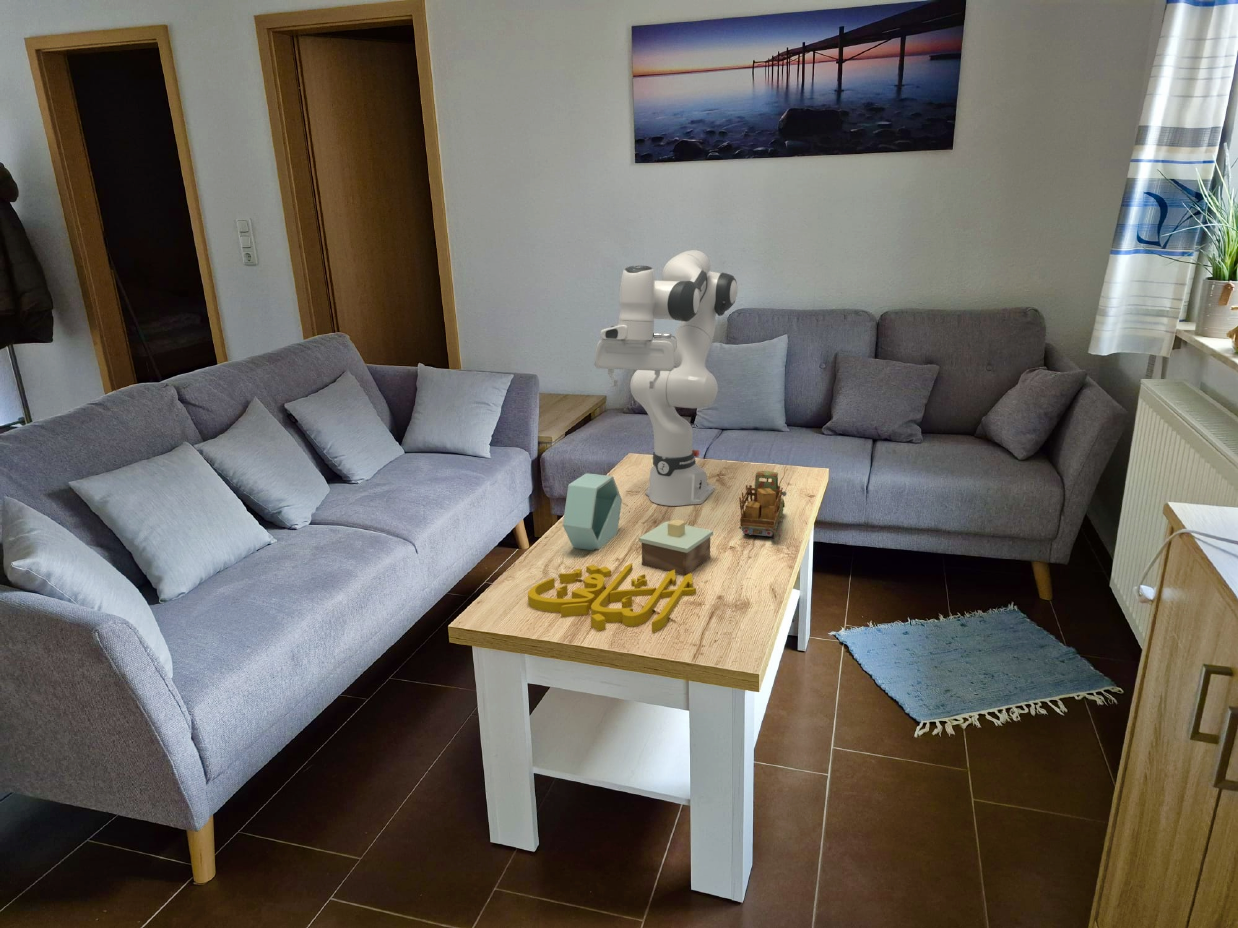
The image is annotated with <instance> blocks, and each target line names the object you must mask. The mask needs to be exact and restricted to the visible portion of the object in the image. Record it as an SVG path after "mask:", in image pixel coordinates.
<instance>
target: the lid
mask: <svg viewBox="0 0 1238 928" xmlns="http://www.w3.org/2000/svg"><path fill="white" fill-rule="evenodd" d="M712 536H714V530H710V529H706V528H702V527H696V526H693V525H692V526H690V525H688V524H686V521H683V520H678V519H673V520H670V521H664V522H663V523H661V524H659V525H658V526H656V527H655V528H652V529H651V530H650V531H648V532H646V533H644V534H642V535H641V536H639V537H638V543H641V544H642V543H646V544H650V545H655V546H659V547H663V548H668V549H672V550H677V551H681V552H685V553H687V552H689V551H690V550H692V549H693V548H695V547H696V546H698V545H699V544H701V543H702V542H703V541H705V540H706V539H708V538H709V537H710V538H711V537H712Z"/></svg>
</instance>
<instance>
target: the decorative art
mask: <svg viewBox="0 0 1238 928" xmlns="http://www.w3.org/2000/svg"><path fill="white" fill-rule="evenodd" d="M585 569H586V573H588V574H589V575H588V576H586V577H585V578H584V579H583V585H584V587H583V588H581V587H578V588H575V589H573V590H572V591H571V598H564V597H566V596H567V595H568V594H569V592H568V590H569V589H568V584H574V583H580V582H582V579H581V578H582V576H583V569H581V568H576V569H574V571H572V572H561V573H559V583H560V584H562V585H561V586H559V587H558V588H557V589H556V598H555V597H554V598H553V597H545V596H541V595H542V594H544V593H547V592H549V591H551V590H553V589H555V588H556V587H555V586H556V585H555V584H556V583H555V582H556V581H555V577H551V578H547V579H545V580H544V581H541V582H538V583H537V584H535V585H534V586H532V587H531V588H530V589H529V590H528V591H527V600H528V602H527V603H528V606H529V607H530V608H531V609H534V610H538V611H541V612H546V611H547V613H557V614H558V613H559V614H560V617H561V618H566V617H574V616H575V617H576V616H587V615H590V612H591V615H590V626H591V627H592V628H593V629H594V630H596V632H601V631H604V630H606V629H607V627H606V626H607V625H606V623H611V624H612V623H621V624H622V625H623V626H626V627H638V626H640V624H641V625H642V624H644V623H646V622H648V621H649V619H650V618H651V617H652V616H653V614H654V613H655V611H656V610H655V607H656V606H657V604H658V603H659V601H660V600H661V599H666V598H669V599H668V601H666V604H665V605H664V607H663V608H662V609H661V611H660V613H659V614H658V615H657V616H656V617H655V619H653V621H651V633H652V632H653V633H655V631H656V632H658V631H660V630H662V629H663V628H664V627H665V626H666V625H667V624H668V622H669V620H670V619H671V617H670V615H671V613H672V612H673V611H674V609H675V608H676V606H677V604H678V603H679V601H680V600H681V599H682V597H684V596H687V597H688V596H695V595H696V594H697V587H693V585H694V584H693V583H694V582H693V574H692V572H691V573H689V574H688V575H686V576H684V575H683V579H682V580H681V582H680V583H679V585H678V587H676V588H674V589H669V588H670V586H671V585H672V587H675V586H676V579H677V578H676V573H675V569H674V570H672V571H670V572H668V571H667V573H666V576H665V577H664V578H663V579H662V581H661V582H660V584H659V585H658V586H657V587H647V586H648V579H647V578H646V574H645V573H644V574H640V575H639V576H637V577H636V578H633V577H632V579H631V582H630V583H631V584H630V585H631V587H634V588H625V589H618V588H619V587H620V586H621V585H622V583H624V581H625V580H626V579H627V577H628V576H629V575H630V574H631V573H632V571H633V563H632V562H631V563H629V564H627V565H625V566H624V568H623V569H622V570H621V572H620V573H619V574H618V575H617V576H616V577H615V578H614V579H613V580H612V581H611V583H609V585H608V586H607V587H606V588H605V578H608V577H612V570H611V569H610V568H609V567H607V566H602V567H598V566H596V565H595V564H591V565H587V566H585ZM563 584H564V585H563ZM640 596H641V597H643V596H650V598H649V599H648V600H647V602H645V604H644V606H643V607H642V609H641V610H640V611H634V608H633V607H632V606H633V597H640ZM619 602H621V607H620V608H619V607H617V608H616V607H615V608H614V607H611V608H610V607H607V606H608V605H609V604H612V603H619ZM661 628H662V629H661ZM659 629H660V630H659Z"/></svg>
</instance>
